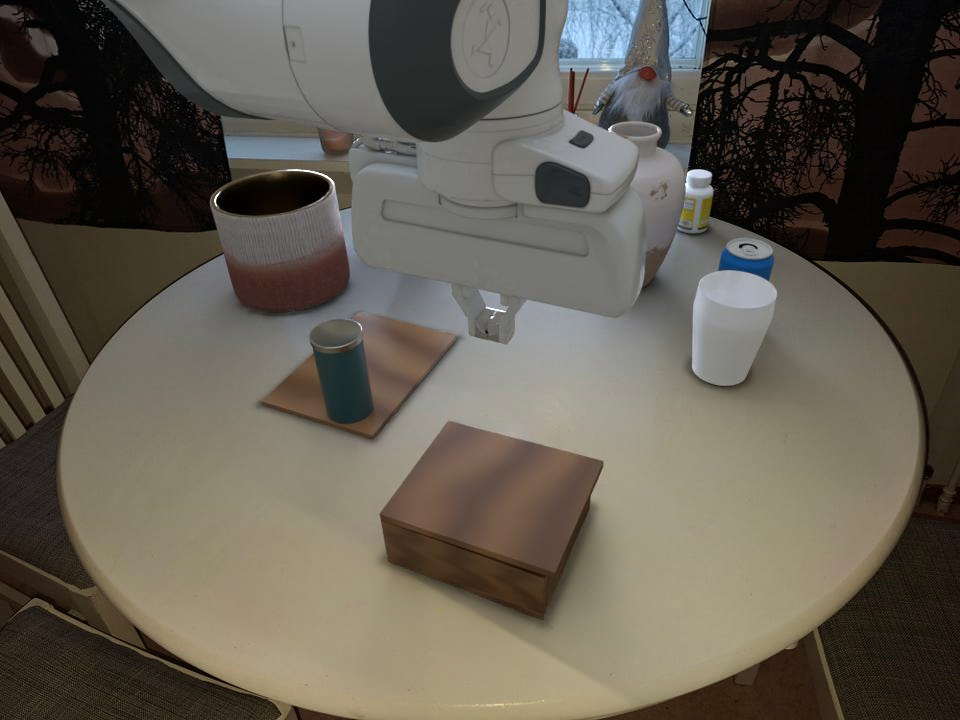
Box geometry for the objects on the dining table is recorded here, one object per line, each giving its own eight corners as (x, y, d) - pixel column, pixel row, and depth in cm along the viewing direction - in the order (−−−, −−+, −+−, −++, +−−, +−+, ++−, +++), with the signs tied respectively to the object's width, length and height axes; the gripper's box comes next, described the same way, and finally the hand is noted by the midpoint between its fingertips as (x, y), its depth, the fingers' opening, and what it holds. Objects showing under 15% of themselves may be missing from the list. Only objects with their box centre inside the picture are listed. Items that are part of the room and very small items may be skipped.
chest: (589, 508, 68) (593, 468, 65) (542, 620, 59) (544, 579, 55) (451, 465, 74) (448, 426, 70) (387, 561, 64) (380, 520, 61)
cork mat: (373, 439, 78) (372, 435, 77) (262, 404, 83) (261, 401, 83) (457, 338, 94) (457, 334, 93) (359, 314, 99) (359, 311, 99)
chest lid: (603, 466, 64) (603, 460, 64) (555, 579, 54) (555, 572, 54) (448, 425, 70) (448, 419, 70) (380, 520, 61) (379, 514, 60)
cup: (678, 348, 90) (692, 268, 83) (749, 351, 89) (770, 271, 82) (686, 390, 83) (702, 307, 76) (762, 395, 82) (786, 311, 75)
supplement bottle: (704, 221, 121) (714, 167, 115) (709, 234, 116) (719, 180, 110) (673, 220, 121) (681, 167, 115) (676, 234, 117) (685, 179, 111)
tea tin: (357, 430, 78) (342, 352, 72) (316, 417, 80) (298, 341, 74) (383, 400, 82) (372, 324, 76) (343, 388, 84) (329, 314, 78)
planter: (279, 253, 116) (258, 163, 106) (371, 269, 110) (358, 175, 101) (211, 306, 102) (181, 208, 93) (312, 326, 97) (290, 225, 88)
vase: (550, 284, 104) (556, 136, 91) (595, 243, 115) (606, 105, 101) (648, 313, 97) (669, 156, 84) (686, 266, 108) (711, 121, 94)
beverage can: (752, 314, 96) (771, 237, 89) (759, 340, 91) (780, 261, 84) (705, 311, 97) (720, 235, 90) (709, 337, 92) (726, 258, 85)
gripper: (317, 143, 43) (347, 327, 51) (639, 189, 35) (615, 395, 43) (371, 115, 47) (391, 288, 55) (666, 150, 40) (639, 344, 48)
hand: (491, 336), depth 49 cm, fingers closed
